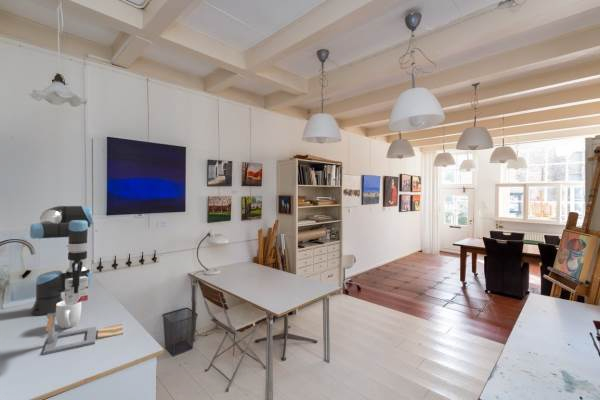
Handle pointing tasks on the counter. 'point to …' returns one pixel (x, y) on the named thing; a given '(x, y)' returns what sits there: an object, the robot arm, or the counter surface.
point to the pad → (110, 331)
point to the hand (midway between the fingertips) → (76, 296)
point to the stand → (54, 337)
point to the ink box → (82, 294)
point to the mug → (68, 314)
